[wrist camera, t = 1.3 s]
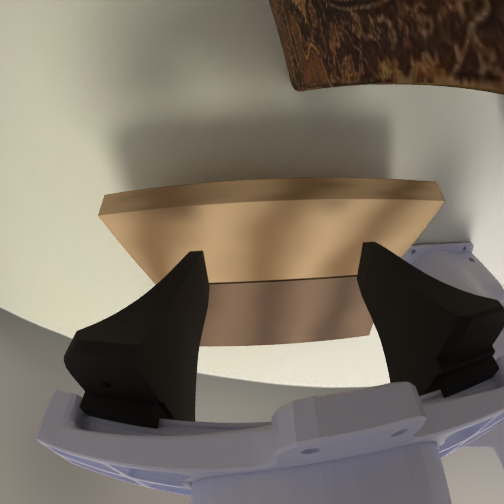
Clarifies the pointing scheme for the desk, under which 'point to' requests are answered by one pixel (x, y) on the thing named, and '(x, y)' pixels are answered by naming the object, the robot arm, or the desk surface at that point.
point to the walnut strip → (285, 311)
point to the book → (392, 42)
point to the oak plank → (270, 224)
